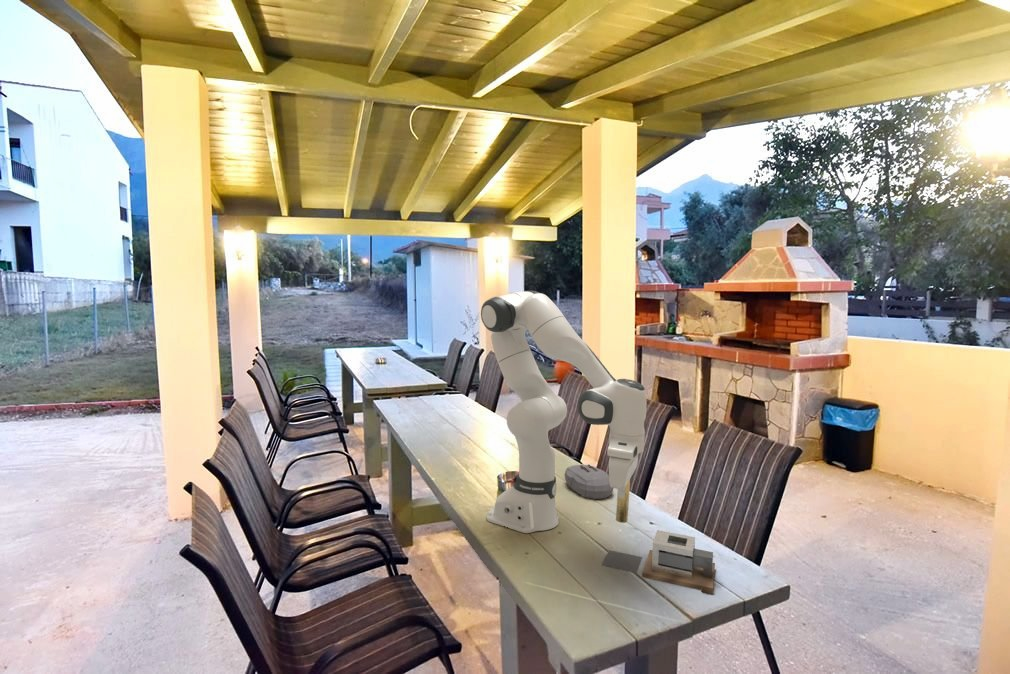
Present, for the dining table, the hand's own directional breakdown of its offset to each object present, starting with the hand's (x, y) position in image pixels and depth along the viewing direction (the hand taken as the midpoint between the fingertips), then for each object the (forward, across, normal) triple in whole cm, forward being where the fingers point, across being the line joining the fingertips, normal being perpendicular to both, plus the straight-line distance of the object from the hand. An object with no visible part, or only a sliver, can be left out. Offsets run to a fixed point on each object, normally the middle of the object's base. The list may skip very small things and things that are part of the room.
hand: (623, 493), depth 137 cm
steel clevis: (+17, -1, +16) cm, 23 cm away
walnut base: (+18, -1, +14) cm, 23 cm away
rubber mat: (+19, 0, +1) cm, 19 cm away
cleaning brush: (+20, -47, -20) cm, 55 cm away
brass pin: (+7, 0, 0) cm, 7 cm away
